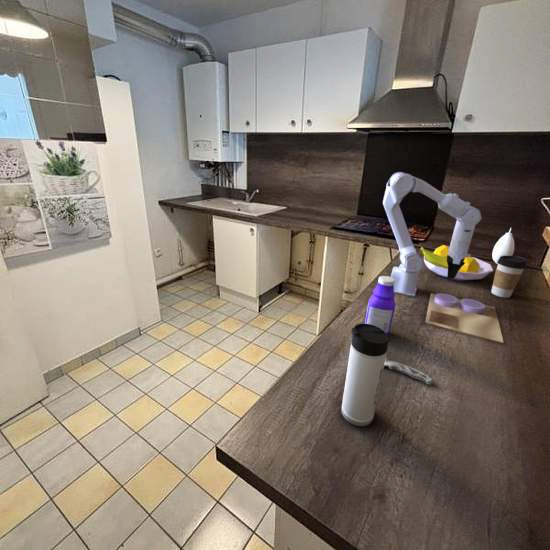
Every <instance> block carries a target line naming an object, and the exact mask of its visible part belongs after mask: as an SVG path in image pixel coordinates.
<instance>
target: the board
mask: <svg viewBox="0 0 550 550" xmlns="http://www.w3.org/2000/svg"><path fill="white" fill-rule="evenodd" d="M436 294H437V293H431V292H430V297H429V301H428V306H427V311H426V317H425V320H424V321H425V323H426V324H430V325H432V326H433V325H434V326H438V327H441V328H444V329H445V328H446V329H449V330H453V331H457V332H460V333H463V334H468V335H471V336H475V337H478V338H483V339H487V340H491V341H495V342H499V343H502V344H503V343H505V342H504V338H503V334H502V330H501V326H500V322H499V318H498V314H497V309H496V307H495V306H492V305H487V304H484V305H485V309H484V312H483V313H480V314H476V313H471V312H467V311H465V310H463V309H461V308H460V307H459V304H460V301H461V300H462V299H459V298H457V299H458V304H457V306H456V307H445V306H441V305H439V304H437V303H436V302H435V301H434V298H435V295H436Z"/></svg>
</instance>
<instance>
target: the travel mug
mask: <svg viewBox="0 0 550 550" xmlns="http://www.w3.org/2000/svg"><path fill="white" fill-rule="evenodd" d="M350 333H351V334H352V337H351V342H350V347H349V354H348V355H349V356H348V361H347V368H346V376H345V382H344V390H343V395H342V401H341V402H342V403H341V409H340V411H341V414H342V416H343V418H344V420H346V422H348V423H350V424H352V425H354V426H357V427H367V426H369V425H370V424H371V423H372V422H373V420H374V417H375V412H376V407H377V401H378V397H379V392H380V388H381V384H382V383H381V382H382V379H383V373H384V368H385V365H384V364H385V359H386V358H387V354H388V347H389V343H390V337H389V334H388V335H387V334H386V333H384V331H383V330H382V329H381V328H379V327H376V326H374V325H370V324H365V323H357V324H355V325H354V327H352V328H351V331H350Z"/></svg>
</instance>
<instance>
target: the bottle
mask: <svg viewBox="0 0 550 550" xmlns="http://www.w3.org/2000/svg"><path fill="white" fill-rule="evenodd" d="M394 281H395V280H394V279H393V278H391V276H388V275H380V276H379V277H378V282H377V285H375V287H374V289H373V290H372V293H373V294H372V295H371V296H370V297H369V299H368V304H367V309H366V315H365V319H364V324H370V325H374V326H376V327H379V328H381V329H382V330H383V331H384V333H386V334H387V335H388V336H389V334H390V332H391V329H392V323H393V318H394V314H395V310H396V307H397V305H396V301H395V296H396V292H394Z"/></svg>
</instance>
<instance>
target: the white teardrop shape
mask: <svg viewBox="0 0 550 550" xmlns="http://www.w3.org/2000/svg"><path fill="white" fill-rule="evenodd" d="M514 253H515V239H514V236H513V233H512V227H510V229H509V231H508V232H505V234H504V235H502V236H501V237H500V238H499V239H498V241H497V242H496V243H495V245H494V246H493V249H492V253H491V255H492V256H491V258H492V260H493V262H494V263H495V264H496V265H498V263H497V262H498V260H499V258H500V256H514Z"/></svg>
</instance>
